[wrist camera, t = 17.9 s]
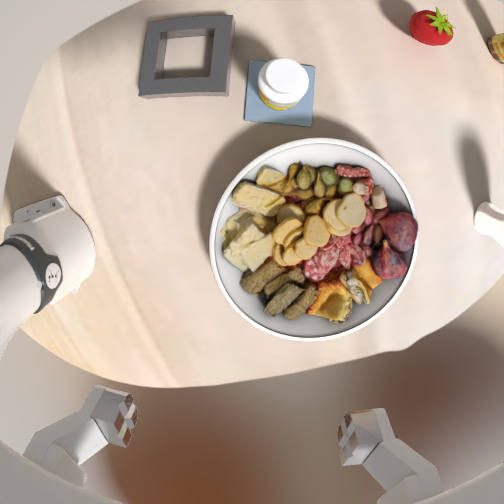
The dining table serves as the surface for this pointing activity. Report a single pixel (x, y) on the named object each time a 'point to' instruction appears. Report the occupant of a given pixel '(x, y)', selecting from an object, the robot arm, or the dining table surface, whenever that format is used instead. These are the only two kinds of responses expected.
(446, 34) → the strawberry
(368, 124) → the dining table surface
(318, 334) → the bowl
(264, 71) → the supplement bottle
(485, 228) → the beer glass
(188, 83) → the socket housing
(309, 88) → the pad
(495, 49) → the sauce bottle
